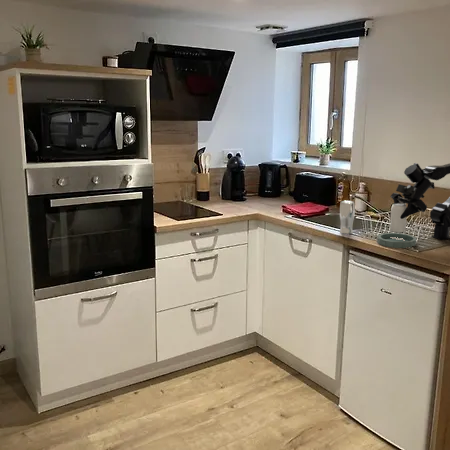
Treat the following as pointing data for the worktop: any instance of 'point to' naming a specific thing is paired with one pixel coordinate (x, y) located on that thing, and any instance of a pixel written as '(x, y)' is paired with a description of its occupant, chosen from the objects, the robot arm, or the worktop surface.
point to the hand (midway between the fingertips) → (395, 216)
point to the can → (398, 218)
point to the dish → (389, 242)
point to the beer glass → (347, 216)
